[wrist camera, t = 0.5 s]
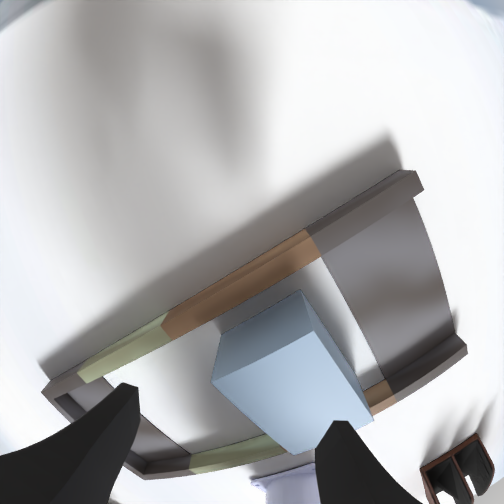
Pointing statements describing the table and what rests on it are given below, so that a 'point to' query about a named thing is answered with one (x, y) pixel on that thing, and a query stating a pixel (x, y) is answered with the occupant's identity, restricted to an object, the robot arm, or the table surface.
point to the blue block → (289, 375)
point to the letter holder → (459, 472)
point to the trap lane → (354, 292)
